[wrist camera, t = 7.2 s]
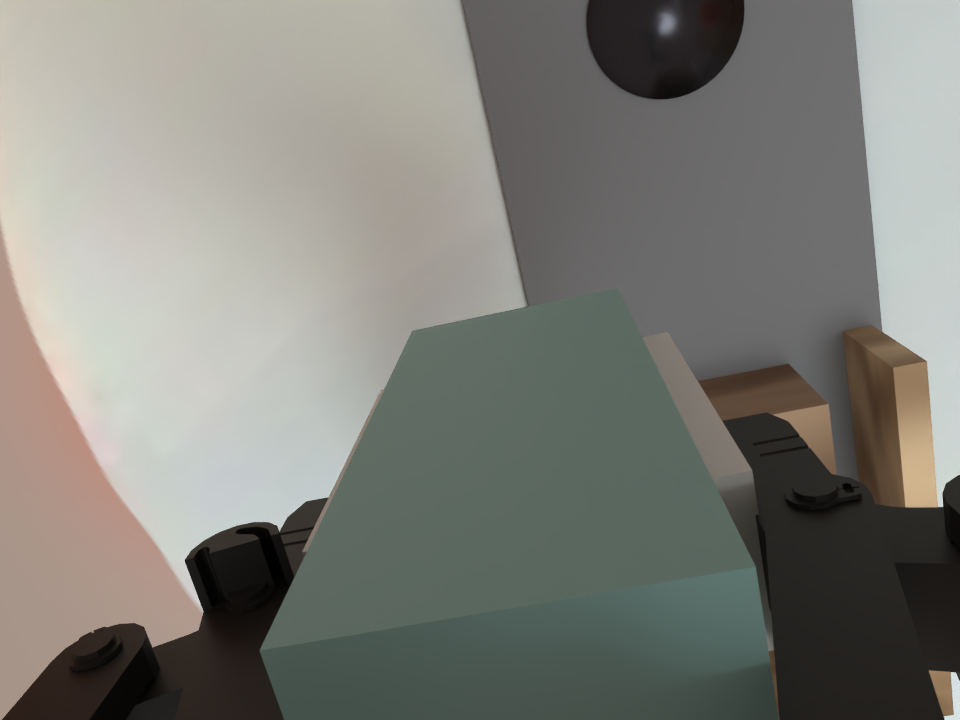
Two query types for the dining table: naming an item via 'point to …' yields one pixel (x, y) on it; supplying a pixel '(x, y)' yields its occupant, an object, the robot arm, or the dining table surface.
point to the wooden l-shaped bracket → (891, 436)
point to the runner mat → (695, 188)
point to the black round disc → (663, 42)
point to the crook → (525, 543)
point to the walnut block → (776, 404)
